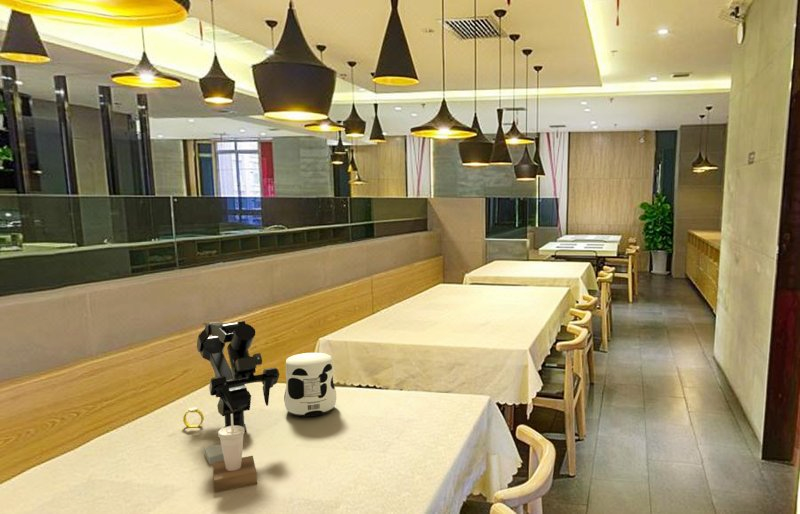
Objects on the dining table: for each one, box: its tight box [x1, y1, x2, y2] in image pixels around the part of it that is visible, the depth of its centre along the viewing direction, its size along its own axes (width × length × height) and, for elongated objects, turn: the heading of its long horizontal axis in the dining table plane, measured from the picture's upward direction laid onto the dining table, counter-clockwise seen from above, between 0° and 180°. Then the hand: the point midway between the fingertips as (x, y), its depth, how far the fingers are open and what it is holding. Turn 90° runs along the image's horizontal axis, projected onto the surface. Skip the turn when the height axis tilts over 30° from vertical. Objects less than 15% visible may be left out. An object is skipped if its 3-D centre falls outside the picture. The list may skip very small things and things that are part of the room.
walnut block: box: [212, 455, 258, 493], centre depth 138 cm, size 10×10×3 cm
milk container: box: [283, 352, 337, 417], centre depth 183 cm, size 17×17×18 cm
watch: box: [182, 407, 205, 428], centre depth 173 cm, size 6×3×6 cm, turn 91°
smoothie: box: [217, 414, 246, 471], centre depth 138 cm, size 6×6×14 cm
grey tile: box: [203, 443, 224, 465], centre depth 151 cm, size 7×7×2 cm
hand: (250, 408), depth 150 cm, fingers open, 9 cm apart
